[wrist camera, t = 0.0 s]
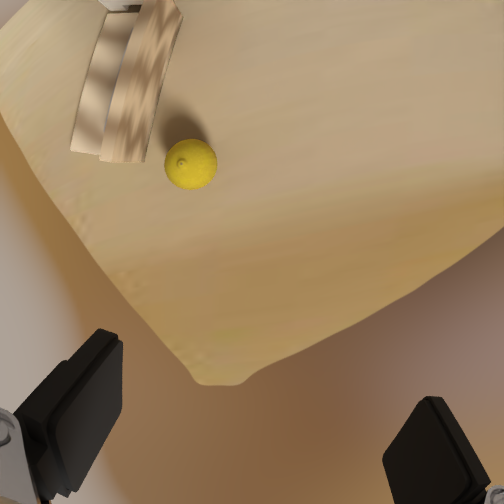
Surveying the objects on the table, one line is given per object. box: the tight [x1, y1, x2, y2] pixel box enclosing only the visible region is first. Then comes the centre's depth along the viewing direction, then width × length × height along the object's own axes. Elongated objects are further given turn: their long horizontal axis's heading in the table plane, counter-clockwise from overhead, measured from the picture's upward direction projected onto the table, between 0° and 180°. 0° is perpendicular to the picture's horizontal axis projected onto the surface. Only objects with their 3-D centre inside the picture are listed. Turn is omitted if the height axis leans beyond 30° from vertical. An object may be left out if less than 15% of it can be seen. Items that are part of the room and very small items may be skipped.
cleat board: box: [70, 0, 183, 162], centre depth 31 cm, size 20×11×9 cm, turn 167°
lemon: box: [164, 139, 217, 190], centre depth 33 cm, size 6×6×8 cm
